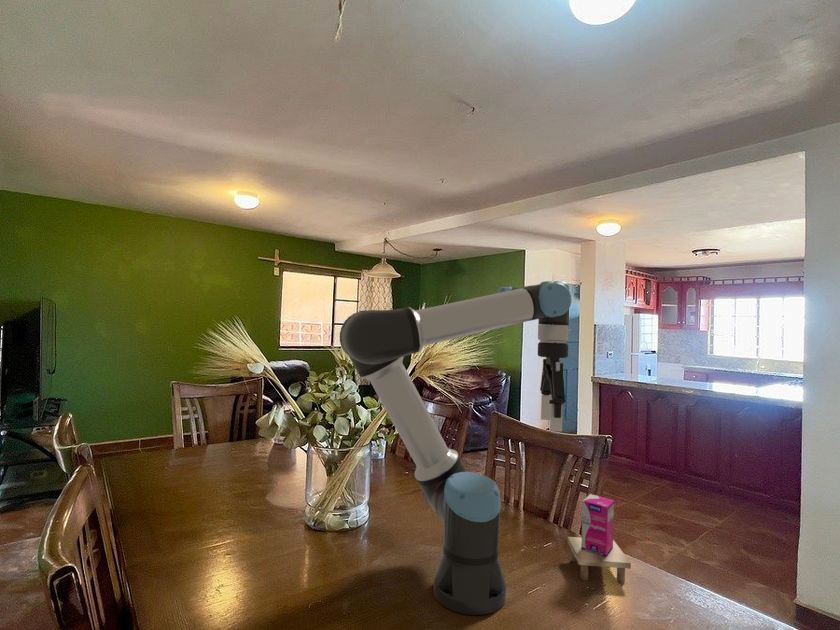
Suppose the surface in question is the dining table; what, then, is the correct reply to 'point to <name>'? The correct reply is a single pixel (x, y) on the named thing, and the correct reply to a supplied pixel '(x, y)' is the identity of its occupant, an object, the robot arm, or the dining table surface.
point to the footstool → (598, 559)
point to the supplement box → (597, 524)
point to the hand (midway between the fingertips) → (550, 425)
